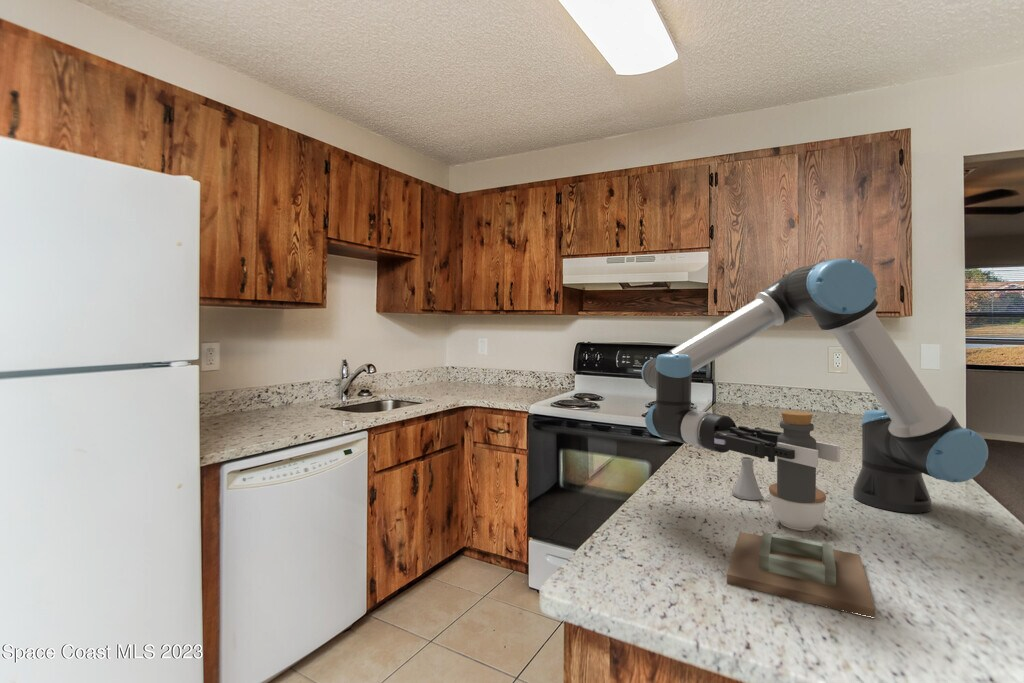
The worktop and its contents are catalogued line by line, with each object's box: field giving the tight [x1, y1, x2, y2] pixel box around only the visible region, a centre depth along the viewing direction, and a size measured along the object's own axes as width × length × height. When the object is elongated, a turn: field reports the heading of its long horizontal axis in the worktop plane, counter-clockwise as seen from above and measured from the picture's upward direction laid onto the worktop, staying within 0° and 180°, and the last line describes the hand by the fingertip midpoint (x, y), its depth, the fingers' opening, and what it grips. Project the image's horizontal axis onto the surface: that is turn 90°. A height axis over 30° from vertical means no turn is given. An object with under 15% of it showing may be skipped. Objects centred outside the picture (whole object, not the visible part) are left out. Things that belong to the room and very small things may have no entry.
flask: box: [731, 455, 763, 501], centre depth 123 cm, size 7×7×10 cm
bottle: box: [776, 410, 817, 503], centre depth 84 cm, size 6×6×15 cm
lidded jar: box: [768, 482, 827, 532], centre depth 104 cm, size 11×11×9 cm
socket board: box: [726, 531, 876, 618], centre depth 84 cm, size 20×20×4 cm
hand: (827, 456), depth 79 cm, fingers closed on bottle, 6 cm apart
